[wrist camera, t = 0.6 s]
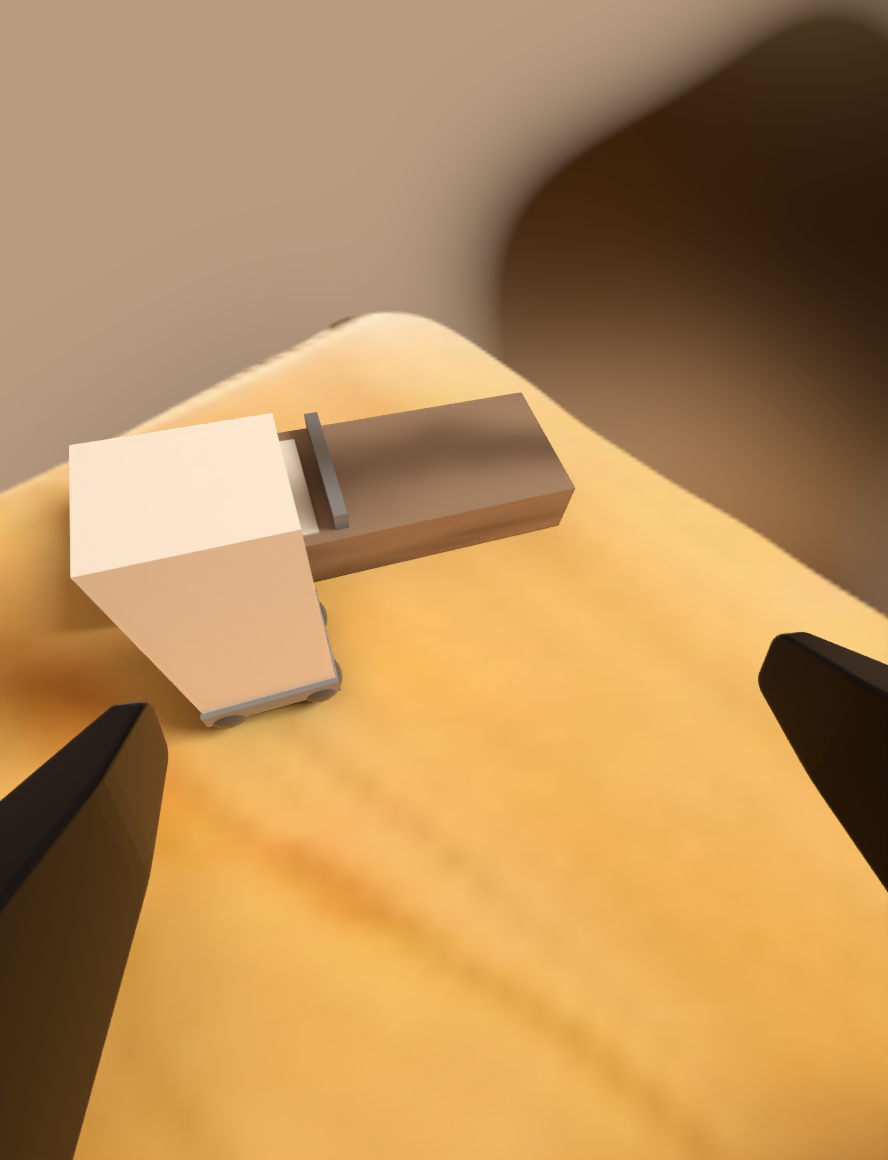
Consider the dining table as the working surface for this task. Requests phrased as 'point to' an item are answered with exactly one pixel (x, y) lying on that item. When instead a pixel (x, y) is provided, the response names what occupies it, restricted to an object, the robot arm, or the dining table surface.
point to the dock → (421, 482)
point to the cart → (203, 564)
